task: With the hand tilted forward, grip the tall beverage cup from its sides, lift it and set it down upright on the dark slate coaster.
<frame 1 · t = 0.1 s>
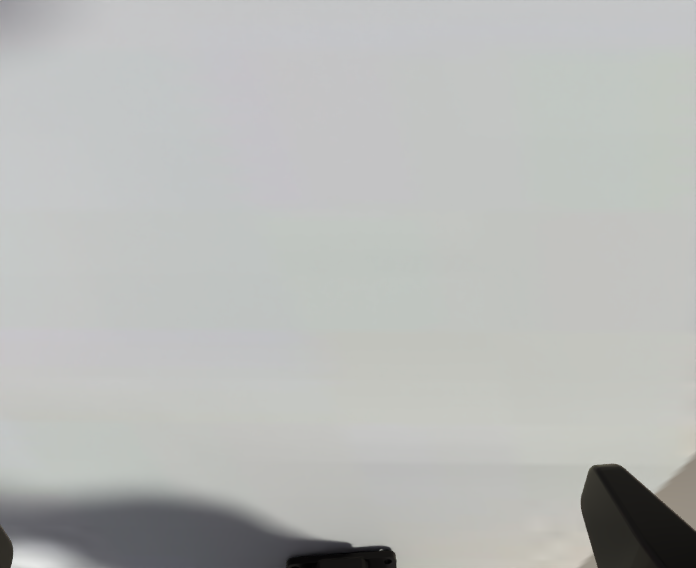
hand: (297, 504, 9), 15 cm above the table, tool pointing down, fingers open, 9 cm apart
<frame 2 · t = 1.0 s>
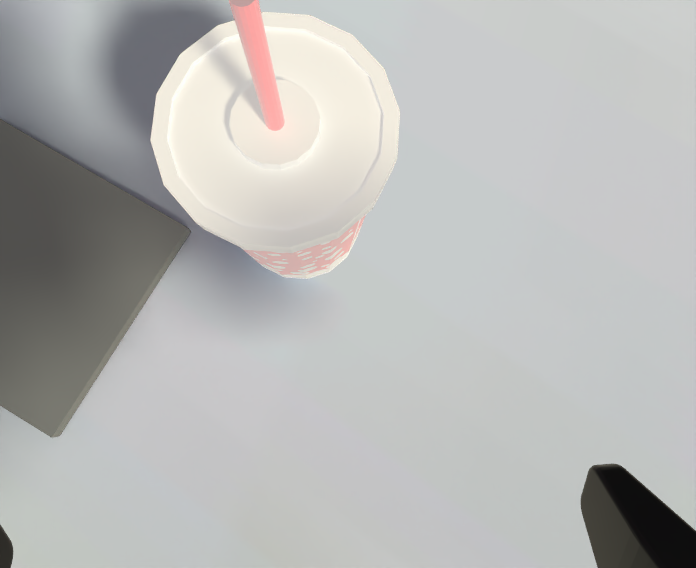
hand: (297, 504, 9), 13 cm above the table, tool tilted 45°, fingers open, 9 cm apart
coaster: (29, 272, 23), on the table
beverage cup: (301, 223, 24), on the table
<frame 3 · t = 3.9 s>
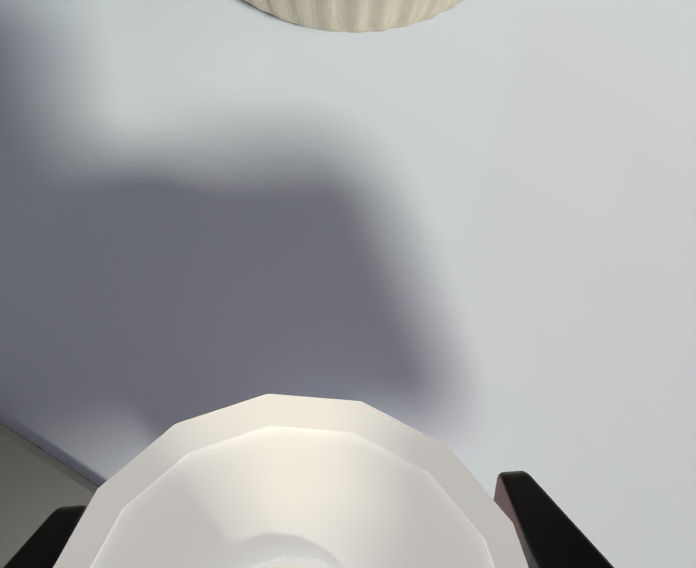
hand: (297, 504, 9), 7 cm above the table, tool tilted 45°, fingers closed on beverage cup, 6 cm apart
beverage cup: (320, 508, 16), on the table, touching gripper
when the fingers open (8 cm above the table, at t = 7.4 s): beverage cup stays where it is, resting on coaster.
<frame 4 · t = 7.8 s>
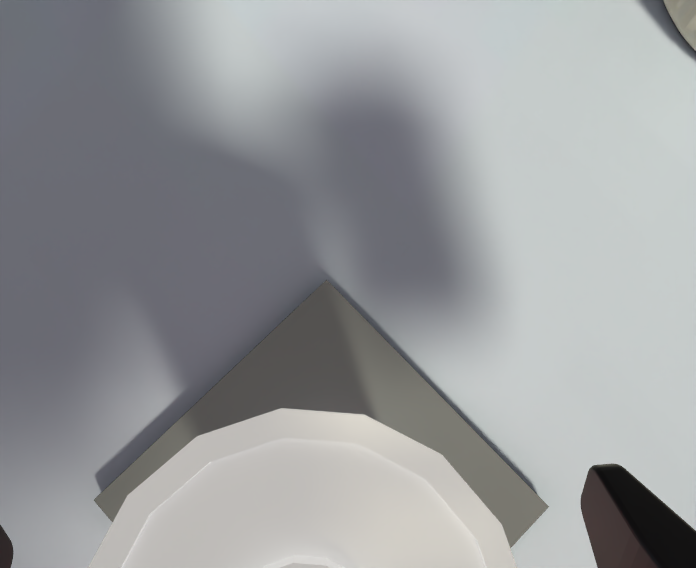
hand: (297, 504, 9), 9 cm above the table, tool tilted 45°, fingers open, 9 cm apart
coaster: (322, 499, 17), on the table
beverage cup: (324, 509, 17), resting on coaster
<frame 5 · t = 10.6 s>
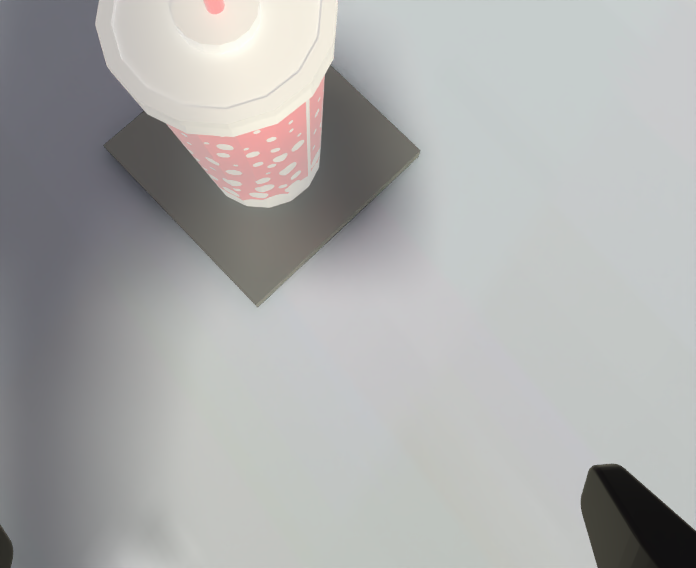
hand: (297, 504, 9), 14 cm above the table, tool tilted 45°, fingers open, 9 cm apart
coaster: (263, 154, 24), on the table
beverage cup: (264, 154, 24), resting on coaster
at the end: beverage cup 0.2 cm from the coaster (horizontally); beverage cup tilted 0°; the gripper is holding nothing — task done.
